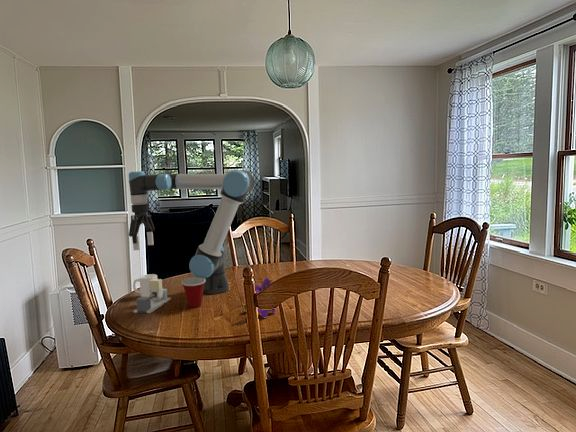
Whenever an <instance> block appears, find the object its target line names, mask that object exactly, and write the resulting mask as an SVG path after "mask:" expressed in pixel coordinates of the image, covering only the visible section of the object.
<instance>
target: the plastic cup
mask: <svg viewBox="0 0 576 432" xmlns="http://www.w3.org/2000/svg"><path fill="white" fill-rule="evenodd" d="M205 281H206V280H205V279H204V278H201V277H195V276H194V277H188V278H185V279H182V280H181V282H180V283H181V285H182V288H183V290H184V293H185V298H186V301H187V306H188V307H189V308H191V309H192V308H193V309H195V308H199V307H202V303H203V297H204V293H203V289H204V283H205Z"/></svg>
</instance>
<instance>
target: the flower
mask: <svg viewBox="0 0 576 432" xmlns="http://www.w3.org/2000/svg"><path fill="white" fill-rule="evenodd" d="M270 284H271V280H270V279H269V278H268V277H266V278H264V280H263V282H262V283H261V285H258V284H257V285H254V286H255V291H256V293H258V292H260V291H261V290H263V289H264V288H265V287H267V286H268V285H270ZM271 285H272V284H271ZM243 308H244V309H245V310H246V305H244V307H243ZM276 310H277V308H276V309H272V310H262V309H257V312H258V313H259V314H261V318H262V319H263V318H264V317H267V318H268V314H269V312H272V313H273V314H274V313H276Z"/></svg>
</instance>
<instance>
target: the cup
mask: <svg viewBox="0 0 576 432" xmlns="http://www.w3.org/2000/svg"><path fill="white" fill-rule="evenodd" d="M152 279H158V275H157V274H155V273H152V274H151V273H150V274H148V273H147V274H144V275H140V276H139V278H136V279H134V281H133V283H132V288H133V289H132V290H133V291H134V292H135V293H136V294H140V297H146V296H150V284H149V281H150V280H152ZM137 282H138V283H139V289H140V290H138V289H136V284H137Z"/></svg>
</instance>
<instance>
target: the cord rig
mask: <svg viewBox="0 0 576 432" xmlns="http://www.w3.org/2000/svg"><path fill="white" fill-rule="evenodd" d="M155 296H157V292H155V293H153V294H151V295H150V296H146V297H141V296H140V297H138V298H136V299H135V300H136V308H135V309H134V310H133V313H134V314H135V313H136V314H137V313H139V314H140V313H141V314H151V313H153V312H155V310H157V309H159V308H160V307H162V306H163V305H164V303H165V304H166V303H168V302H169V301H171V299H172V298H171V297H169V296H168V288H163V298H161V299H160V300H151V299H152V298H154V297H155Z"/></svg>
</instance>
